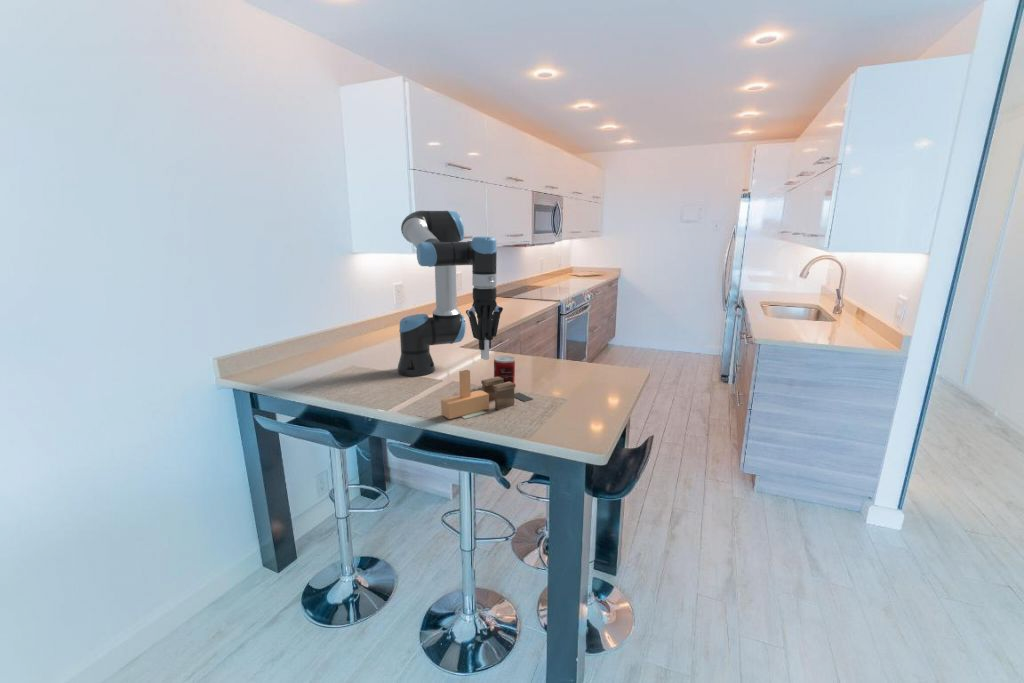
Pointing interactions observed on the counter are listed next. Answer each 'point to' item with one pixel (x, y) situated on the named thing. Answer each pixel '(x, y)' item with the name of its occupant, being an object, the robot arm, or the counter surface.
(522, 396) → the pit patch
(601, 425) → the counter surface
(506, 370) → the canned food
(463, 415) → the pad
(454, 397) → the tan inverted t block
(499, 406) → the dark brown box
